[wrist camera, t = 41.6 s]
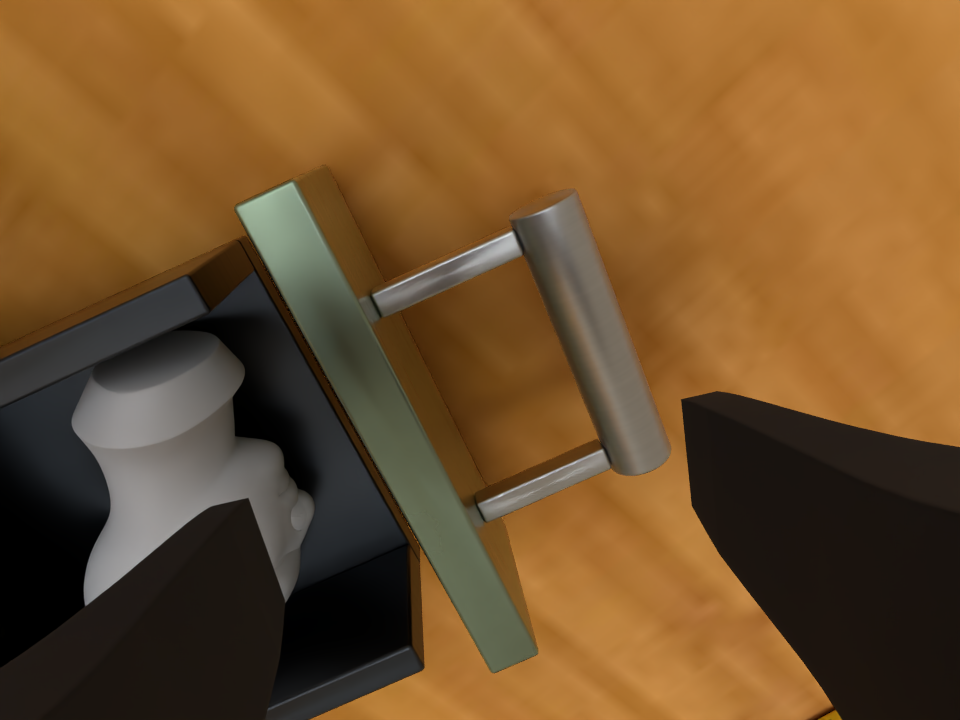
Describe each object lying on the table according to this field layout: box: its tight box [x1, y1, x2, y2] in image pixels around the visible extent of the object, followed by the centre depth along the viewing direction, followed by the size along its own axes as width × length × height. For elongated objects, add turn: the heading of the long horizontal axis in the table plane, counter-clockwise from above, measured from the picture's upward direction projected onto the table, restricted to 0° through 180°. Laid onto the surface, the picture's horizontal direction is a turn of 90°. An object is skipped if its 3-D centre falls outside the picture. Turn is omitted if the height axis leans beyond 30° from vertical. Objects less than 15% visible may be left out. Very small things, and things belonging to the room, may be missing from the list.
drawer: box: [0, 165, 671, 720], centre depth 16 cm, size 19×11×5 cm, turn 113°
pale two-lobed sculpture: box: [72, 330, 315, 606], centre depth 16 cm, size 4×8×5 cm
